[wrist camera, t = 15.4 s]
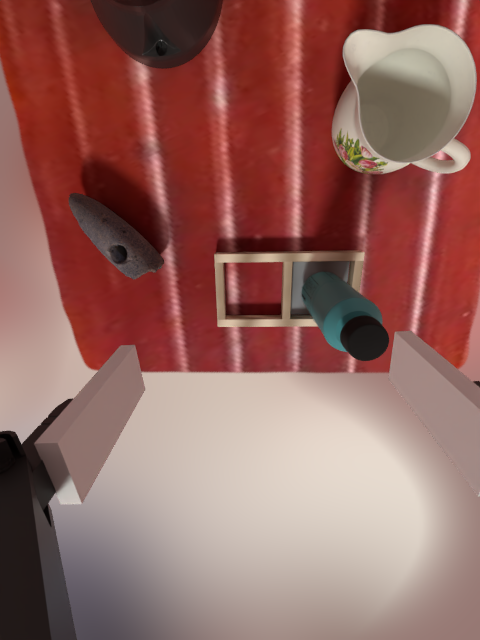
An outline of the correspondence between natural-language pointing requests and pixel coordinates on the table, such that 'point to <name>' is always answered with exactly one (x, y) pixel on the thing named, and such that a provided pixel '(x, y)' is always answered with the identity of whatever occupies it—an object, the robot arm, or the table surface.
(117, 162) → the table surface
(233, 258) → the bottle rack
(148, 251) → the perforated stone tool
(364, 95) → the pitcher
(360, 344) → the beverage bottle
